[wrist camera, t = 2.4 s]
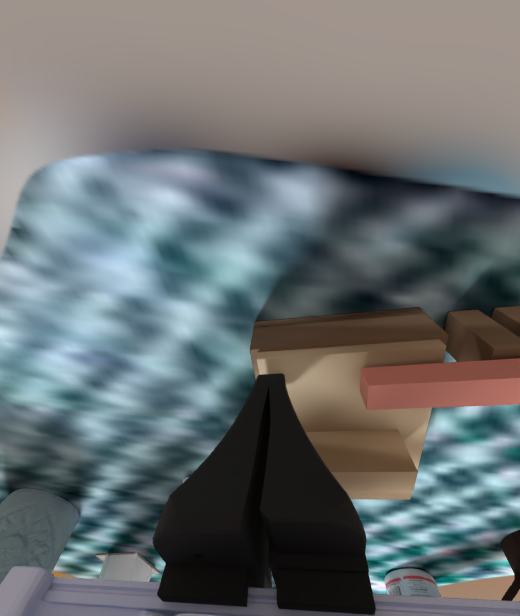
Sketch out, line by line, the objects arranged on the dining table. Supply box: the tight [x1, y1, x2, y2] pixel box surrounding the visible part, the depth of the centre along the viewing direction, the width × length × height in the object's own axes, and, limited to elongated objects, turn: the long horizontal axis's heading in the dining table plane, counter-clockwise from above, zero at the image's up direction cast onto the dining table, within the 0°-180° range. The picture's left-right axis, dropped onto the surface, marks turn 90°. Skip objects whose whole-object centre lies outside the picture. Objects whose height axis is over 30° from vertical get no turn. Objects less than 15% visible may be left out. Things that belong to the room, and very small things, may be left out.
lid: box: [257, 339, 447, 499], centre depth 15 cm, size 14×9×3 cm
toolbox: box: [250, 306, 520, 379], centre depth 17 cm, size 14×16×4 cm
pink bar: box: [360, 358, 520, 410], centre depth 12 cm, size 2×10×1 cm, turn 98°
